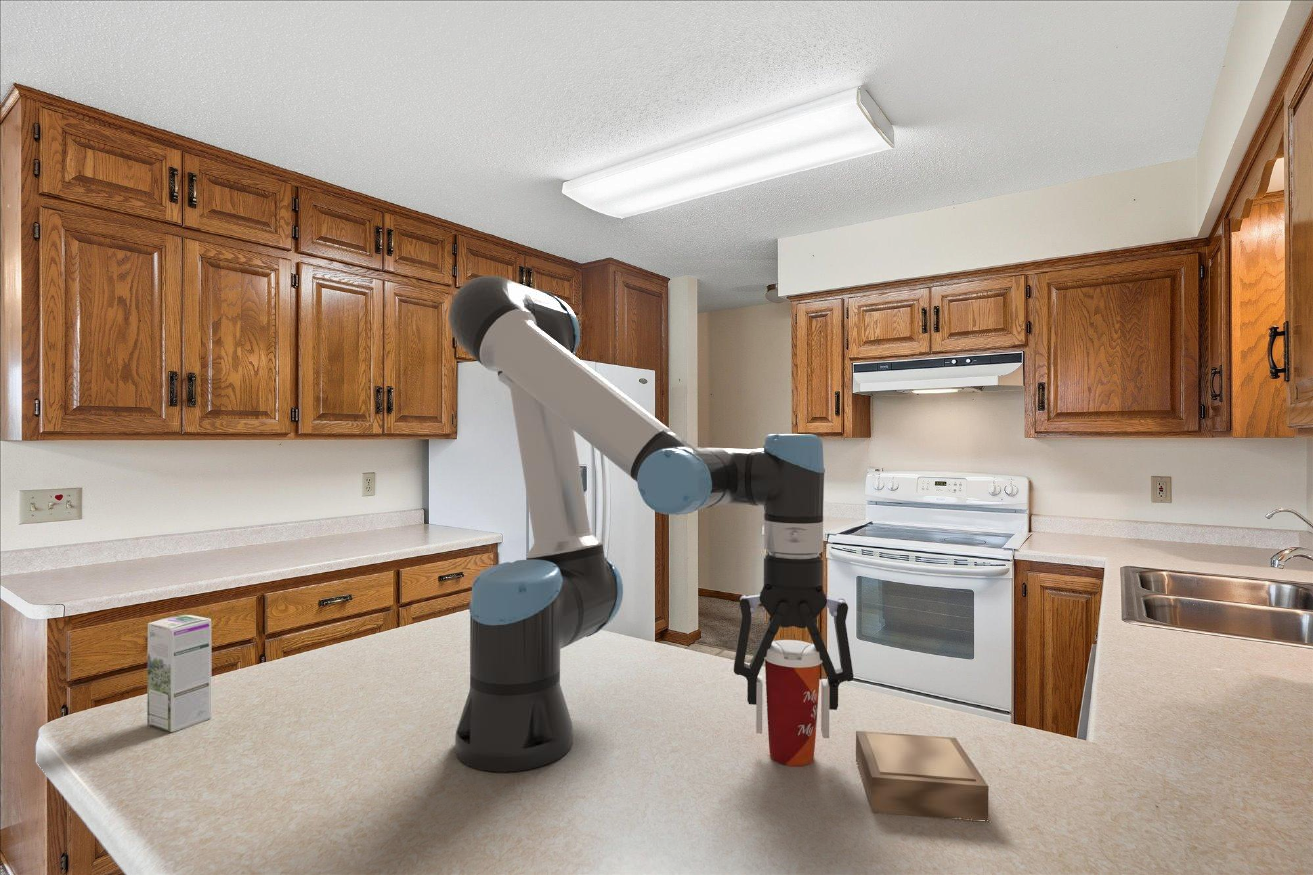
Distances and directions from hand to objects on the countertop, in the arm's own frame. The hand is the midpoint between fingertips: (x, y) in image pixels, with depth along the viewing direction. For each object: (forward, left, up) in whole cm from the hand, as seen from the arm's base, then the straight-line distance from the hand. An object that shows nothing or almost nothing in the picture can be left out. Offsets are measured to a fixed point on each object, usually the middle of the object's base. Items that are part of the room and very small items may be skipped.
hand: (791, 731), depth 87 cm
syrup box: (-85, -4, -3) cm, 85 cm away
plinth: (+14, -6, -3) cm, 16 cm away
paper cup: (0, 0, -3) cm, 3 cm away
